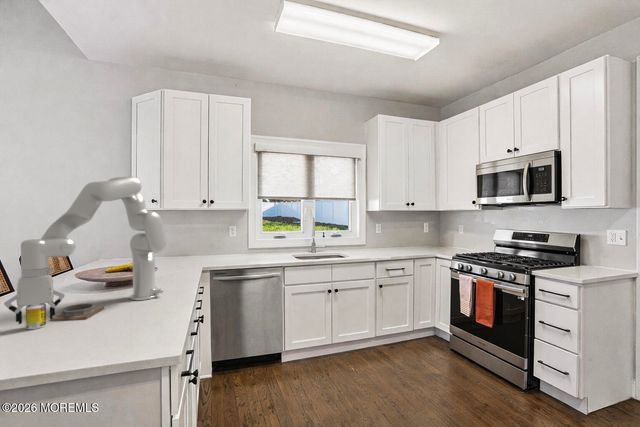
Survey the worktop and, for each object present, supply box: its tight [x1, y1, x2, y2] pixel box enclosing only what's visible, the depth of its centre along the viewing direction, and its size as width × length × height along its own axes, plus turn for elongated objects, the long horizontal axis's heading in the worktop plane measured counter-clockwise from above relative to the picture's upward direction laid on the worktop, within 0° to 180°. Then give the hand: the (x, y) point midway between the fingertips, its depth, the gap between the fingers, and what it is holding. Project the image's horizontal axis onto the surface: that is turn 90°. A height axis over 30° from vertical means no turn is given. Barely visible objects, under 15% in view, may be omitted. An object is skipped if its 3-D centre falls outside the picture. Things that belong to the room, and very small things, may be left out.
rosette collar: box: [49, 303, 105, 322], centre depth 132 cm, size 13×13×3 cm
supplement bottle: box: [25, 303, 47, 330], centre depth 119 cm, size 6×6×10 cm
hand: (36, 320), depth 119 cm, fingers open, 8 cm apart
